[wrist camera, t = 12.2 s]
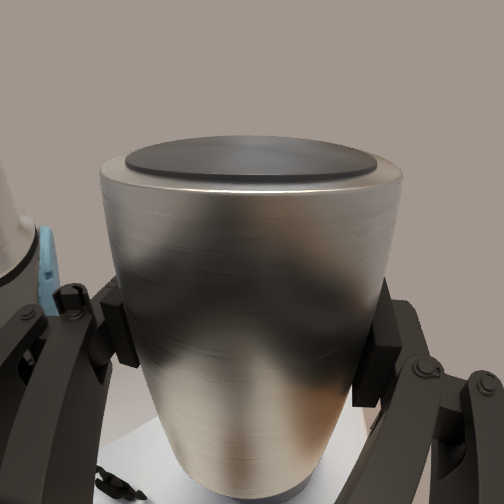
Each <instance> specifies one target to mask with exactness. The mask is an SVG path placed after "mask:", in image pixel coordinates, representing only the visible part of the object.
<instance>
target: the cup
mask: <svg viewBox="0 0 504 504" xmlns="http://www.w3.org/2000/svg"><path fill="white" fill-rule="evenodd" d="M99 175H100V183H101V191H102V199H103V205H104V212H105V218H106V225H107V231H108V236H109V242H110V246H111V252H112V257H113V262H114V267H115V271H116V276H117V280H118V285H119V289H120V293H121V297H122V301H123V305H124V309H125V313H126V317H127V321H128V324H129V328H130V331H131V335H132V338H133V342H134V345H135V349H136V352H137V355H138V358H139V361H140V365H141V368H142V370H143V374H144V377H145V380H146V382H147V385H148V388H149V391H150V394H151V397H152V400H153V402H154V405H155V408H156V410H157V413H158V415H159V418H160V421H161V423H162V426H163V428H164V431H165V433H166V435H167V438H168V440H169V443H170V445H171V447H172V450H173V452H174V454H175V456H176V458H177V460H178V462H179V464H180V465H181V467H182V468H183V470H184V471H185V472H186V473H187V474H188V475H189V476H190V477H191V478H192V479H193V480H195V481H196V482H197V483H198V484H200V485H202V486H203V487H205V488H207V489H208V490H211V491H213V492H215V493H218V494H221V495H225V496H228V497H234V498H241V499H256V498H265V497H269V496H273V495H277V494H279V493H282V492H285V491H287V490H289V489H291V488H293V487H295V486H296V485H298V484H299V483H300V482H302V481H303V480H304V479H305V478H306V477H308V476H309V475H310V474H311V473H312V471H313V470H314V469H315V467H316V466H317V465H318V463H319V461H320V459H321V457H322V455H323V453H324V451H325V448H326V446H327V444H328V442H329V439H330V437H331V435H332V432H333V430H334V428H335V425H336V423H337V421H338V418H339V416H340V413H341V411H342V408H343V406H344V403H345V401H346V398H347V395H348V393H349V390H350V387H351V385H352V382H353V379H354V376H355V373H356V370H357V368H358V365H359V362H360V359H361V356H362V353H363V350H364V347H365V343H366V340H367V337H368V334H369V330H370V327H371V324H372V320H373V317H374V313H375V310H376V306H377V302H378V299H379V295H380V291H381V287H382V283H383V279H384V275H385V271H386V267H387V262H388V258H389V253H390V248H391V243H392V239H393V234H394V229H395V223H396V218H397V213H398V207H399V200H400V194H401V188H402V181H403V174H402V171H401V169H400V168H399V167H398V166H396V165H395V164H394V163H392V162H390V161H388V160H386V159H384V158H382V157H379V156H377V155H374V154H371V153H368V152H364V151H361V150H357V149H354V148H350V147H346V146H342V145H338V144H332V143H328V142H322V141H316V140H308V139H299V138H290V137H276V136H215V137H202V138H193V139H184V140H177V141H171V142H165V143H160V144H156V145H152V146H148V147H144V148H140V149H136V150H133V151H130V152H127V153H124V154H121V155H118V156H117V157H114V158H112V159H110V160H109V161H107V162H105V163H104V164H103V165H102V166H101V168H100V171H99Z"/></svg>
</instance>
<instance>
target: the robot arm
mask: <svg viewBox="0 0 504 504" xmlns="http://www.w3.org/2000/svg"><path fill="white" fill-rule="evenodd" d="M58 314H59V316H58ZM418 320H419V319H418V316H417V313H416V310H415V309H414V308H413V306H412V305H411V304H410V303H409V302H408V301H404V300H392V299H391V297H390V294H389V290H388V287H387V283H386V280H385V277H384V279H383V283H382V287H381V291H380V295H379V299H378V302H377V306H376V310H375V313H374V317H373V320H372V324H371V327H370V330H369V334H368V337H367V340H366V343H365V347H364V350H363V353H362V356H361V359H360V362H359V365H358V368H357V370H356V373H355V376H354V379H353V382H352V407H370V408H375V407H376V405H377V403H378V400H379V398H380V402H381V410H380V412H379V413H378V415H377V417H376V419H375V421H374V423H373V424H372V426H371V428H370V429H371V432H370V434H369V436H368V438H367V440H366V443H365V445H364V447H363V449H362V451H361V453H360V455H359V457H358V460H357V462H356V464H355V466H354V468H353V470H352V472H351V474H350V475H349V477H348V479H347V481H346V483H345V485H344V487H343V489H342V490H341V492H340V494H339V496H338V498H337V499H336V501H335V503H334V504H412V501H413V499H414V496H415V493H416V490H417V487H418V484H419V482H420V479H421V475H422V472H423V469H424V466H425V463H426V459H427V456H428V452H429V449H430V445H431V481H430V495H429V504H504V388H503V385H502V383H501V381H500V380H499V379H498V378H497V377H496V376H495V375H494V374H492V373H490V372H488V371H483V370H480V371H475V372H474V373H472V374H471V375H470V377H469V379H468V380H463V379H460V378H457V377H453V376H450V375H447V374H445V373H444V369H443V367H442V365H441V363H440V362H438V361H437V360H436V359H435V358H433V357H431V356H430V354H429V351H428V347H427V344H426V341H425V338H424V334H423V331H422V329H421V325H420V322H419V321H418ZM27 350H28V352H29V354H30V356H31V358H32V359H33V360H32V361H31V362H30V363H29V364H28V363H27V361H26V360H25V358H24V356H23V355H24V354H25V352H26V351H27ZM115 352H116V355H117V357H118V360H119V362H120V363H121V364H124V365H127V366H130V367H134V368H138V367H139V365H140V361H139V358H138V355H137V352H136V349H135V345H134V342H133V338H132V335H131V331H130V328H129V324H128V321H127V317H126V313H125V309H124V305H123V301H122V297H121V293H120V289H119V285H118V280H117V276H115V277H113V278H112V279H111V281H110V282H108V283H107V284H106V285H105V287H103V288H102V289H101V290H100V291H99V292H98V293H97V294H96V295H95V296H94V297H93V298H92V299H91V300H90V298H89V295H88V292H87V289H86V287H85V286H84V285H82V284H79V283H72V284H67V285H64V286H61V287H60V281H59V273H58V264H57V257H56V250H55V243H54V237H53V233H52V230H51V229H50V228H49V227H47V226H46V227H43V226H39V228H36V227H35V224H34V221H33V219H32V216H31V215H30V214H29V213H28V212H27V211H26V210H25V209H23V208H20V207H17V206H15V203H14V200H13V197H12V194H11V191H10V187H9V184H8V181H7V178H6V174H5V170H4V166H3V163H2V159H1V155H0V504H93V494H94V483H95V473H96V464H97V456H98V449H99V441H100V435H101V434H100V433H101V427H102V422H103V416H104V410H105V404H106V399H107V393H108V388H109V383H110V378H111V374H112V362H111V360H110V358H111V357H112V356H113V354H114V353H115Z"/></svg>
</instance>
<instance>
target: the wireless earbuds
mask: <svg viewBox="0 0 504 504" xmlns="http://www.w3.org/2000/svg"><path fill="white" fill-rule="evenodd" d="M98 472H99V474H100V476H101V477H102V478H103V481H102V480H100V479H98V478H97V479H96V480H95V485H96V487H97V488H98V489H99V490H101V491H102V492H104V493H105V494H107V495H108V496H110V497H112V498H113V499H120V498H122V497H123V498H124V499H126V500H129V501H132V500H134V499H135V498H136V499H138V500H147V497H146V496H145V494H144V493H143V492H142V491H140V490H138V491H137V492H135V491H134V489H133V488H132V487H131V486H130V485H129V484H128V483H126V482H125V481H123V480H121V479H120V478H118V477H116V476H115V475H113V474H111V473H109V472H106V471H105V470H104V469H103V468H102V467H100V466H97V465H96V473H98Z"/></svg>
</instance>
